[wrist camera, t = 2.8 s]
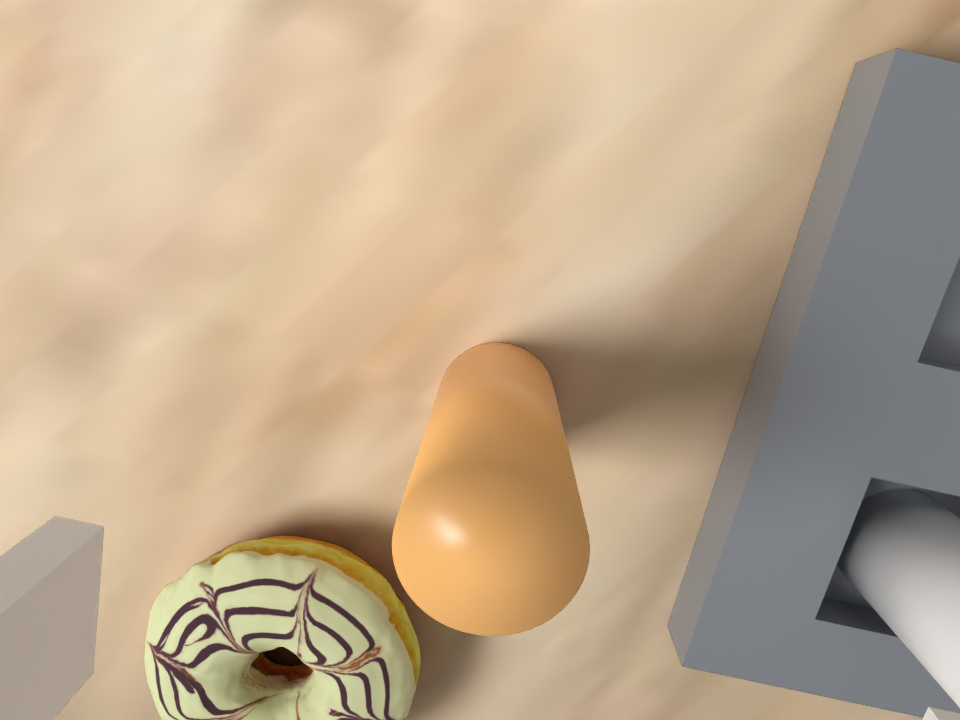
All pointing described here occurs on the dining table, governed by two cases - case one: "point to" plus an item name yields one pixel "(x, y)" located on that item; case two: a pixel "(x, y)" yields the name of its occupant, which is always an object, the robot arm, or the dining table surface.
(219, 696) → the decorated donut
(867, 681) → the housing
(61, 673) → the robot arm
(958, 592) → the white rounded peg
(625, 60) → the dining table surface
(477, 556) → the tan tapered peg
